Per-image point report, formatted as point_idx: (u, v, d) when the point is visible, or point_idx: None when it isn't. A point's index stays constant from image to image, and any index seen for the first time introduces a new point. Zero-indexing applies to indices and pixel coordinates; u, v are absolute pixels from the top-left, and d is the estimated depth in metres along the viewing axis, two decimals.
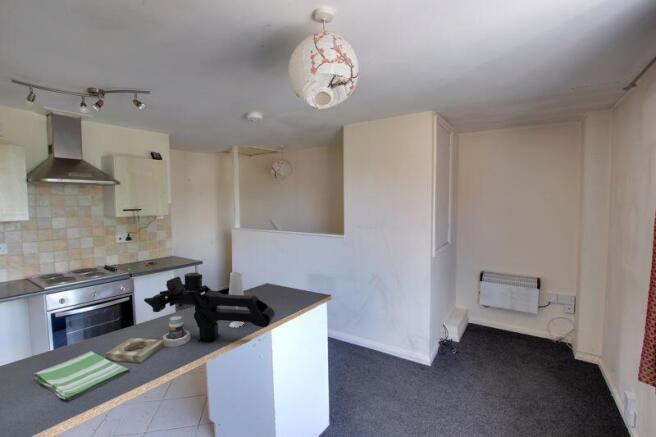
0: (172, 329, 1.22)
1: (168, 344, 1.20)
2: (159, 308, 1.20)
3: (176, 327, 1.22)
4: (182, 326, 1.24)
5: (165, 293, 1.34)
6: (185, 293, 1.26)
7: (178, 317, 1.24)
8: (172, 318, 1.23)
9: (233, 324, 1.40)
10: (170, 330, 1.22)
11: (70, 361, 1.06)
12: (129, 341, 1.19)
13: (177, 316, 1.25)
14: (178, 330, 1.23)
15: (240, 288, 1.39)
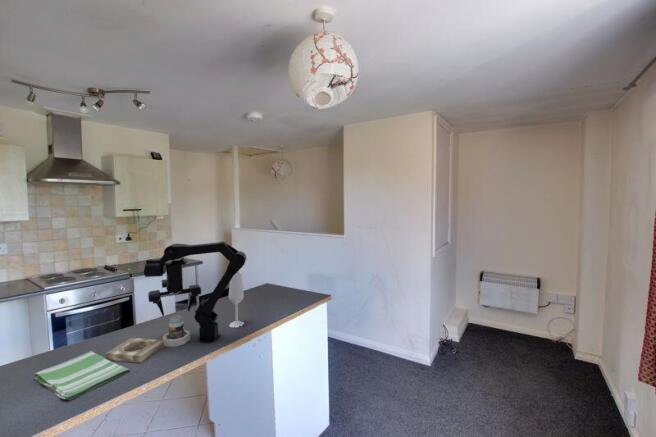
0: (172, 329, 1.22)
1: (168, 344, 1.20)
2: (149, 294, 1.18)
3: (176, 327, 1.22)
4: (182, 326, 1.24)
5: (188, 304, 1.26)
6: None
7: (178, 317, 1.24)
8: (172, 318, 1.23)
9: (233, 324, 1.40)
10: (170, 330, 1.22)
11: (70, 361, 1.06)
12: (129, 341, 1.19)
13: (177, 316, 1.25)
14: (178, 330, 1.23)
15: (240, 288, 1.39)
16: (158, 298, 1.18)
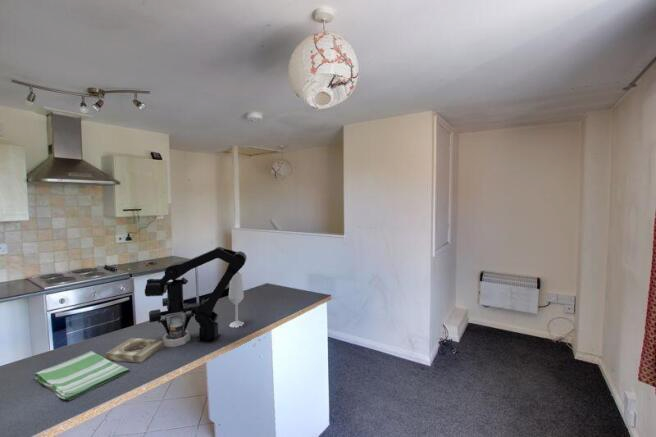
0: (172, 329, 1.22)
1: (168, 344, 1.20)
2: (150, 314, 1.18)
3: (176, 327, 1.22)
4: (182, 326, 1.24)
5: (184, 324, 1.26)
6: (167, 295, 1.22)
7: (178, 317, 1.24)
8: (172, 318, 1.23)
9: (233, 324, 1.40)
10: (170, 330, 1.22)
11: (70, 361, 1.06)
12: (129, 341, 1.19)
13: (177, 316, 1.25)
14: (178, 330, 1.23)
15: (240, 288, 1.39)
16: (159, 318, 1.19)
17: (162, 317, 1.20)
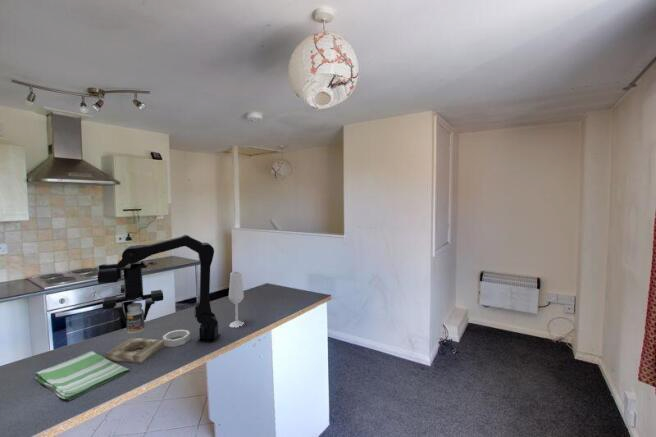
0: (129, 317, 1.12)
1: (168, 344, 1.20)
2: (104, 301, 1.08)
3: (133, 316, 1.12)
4: (141, 314, 1.14)
5: (144, 312, 1.16)
6: (125, 280, 1.11)
7: (136, 305, 1.14)
8: (130, 306, 1.13)
9: (233, 324, 1.40)
10: (127, 319, 1.12)
11: (71, 361, 1.06)
12: (129, 341, 1.19)
13: (136, 304, 1.15)
14: (136, 318, 1.12)
15: (240, 288, 1.39)
16: (113, 305, 1.08)
17: (118, 304, 1.10)
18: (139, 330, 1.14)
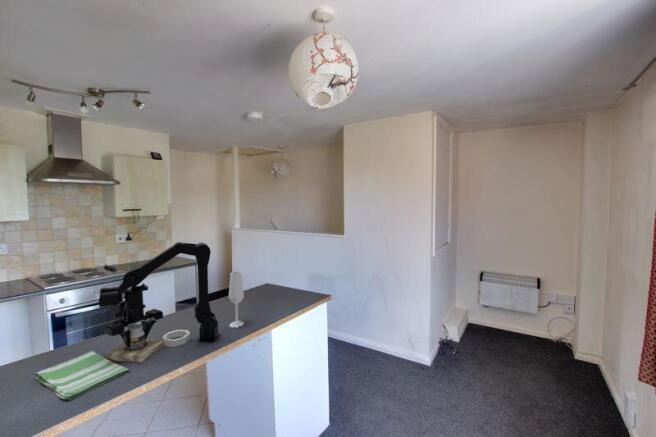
0: (134, 339, 1.13)
1: (168, 344, 1.20)
2: (111, 327, 1.06)
3: (139, 337, 1.14)
4: (144, 335, 1.16)
5: None
6: (126, 303, 1.12)
7: (138, 326, 1.15)
8: (132, 328, 1.14)
9: (233, 324, 1.40)
10: (131, 341, 1.13)
11: (71, 361, 1.06)
12: None
13: (135, 326, 1.16)
14: (141, 339, 1.14)
15: (240, 288, 1.39)
16: (122, 330, 1.08)
17: (124, 328, 1.09)
18: None
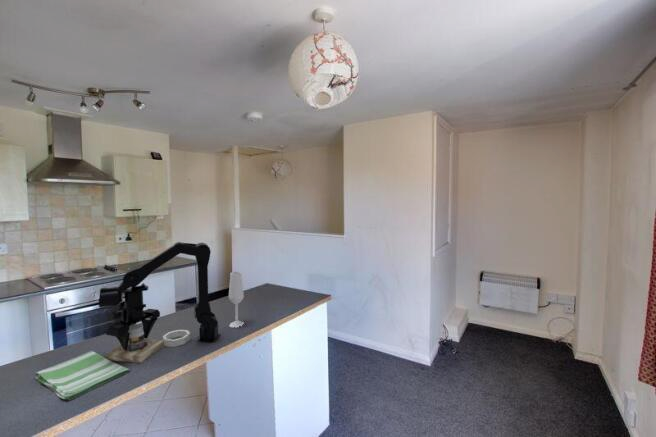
0: (134, 339, 1.13)
1: (168, 344, 1.20)
2: (116, 328, 1.06)
3: (139, 337, 1.14)
4: (143, 335, 1.16)
5: (145, 331, 1.20)
6: (125, 303, 1.12)
7: (137, 326, 1.15)
8: (132, 328, 1.14)
9: (233, 324, 1.40)
10: (132, 341, 1.13)
11: (71, 361, 1.06)
12: None
13: (135, 326, 1.16)
14: (141, 339, 1.15)
15: (240, 288, 1.39)
16: (127, 330, 1.08)
17: None
18: None
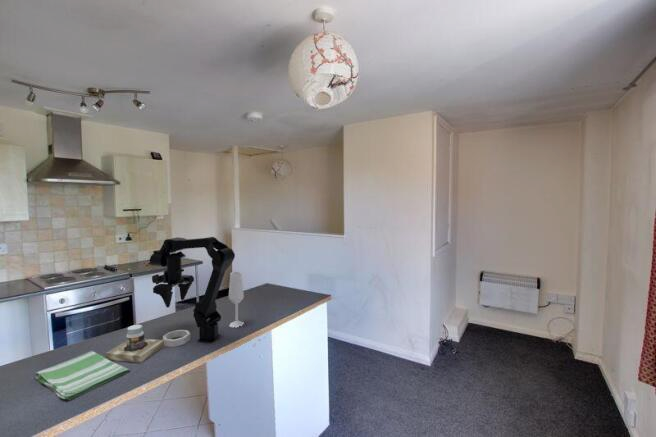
0: (134, 339, 1.13)
1: (168, 344, 1.20)
2: (162, 287, 1.22)
3: (139, 337, 1.14)
4: (143, 335, 1.16)
5: (182, 293, 1.36)
6: None
7: (137, 326, 1.15)
8: (132, 328, 1.14)
9: (233, 324, 1.40)
10: (132, 341, 1.13)
11: (71, 361, 1.06)
12: None
13: (135, 326, 1.16)
14: (141, 339, 1.15)
15: (240, 288, 1.39)
16: (171, 289, 1.24)
17: None
18: None
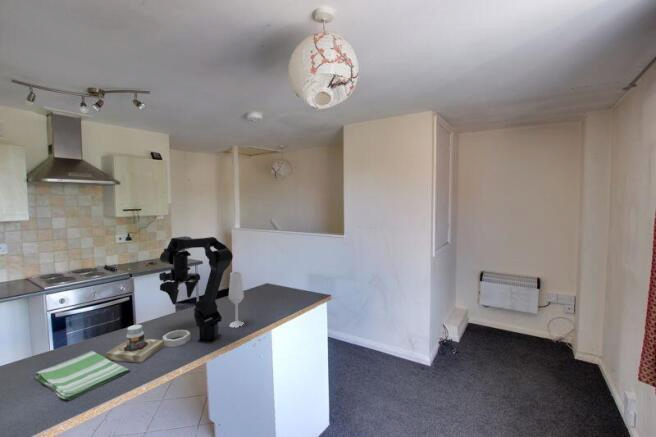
0: (134, 339, 1.13)
1: (168, 344, 1.20)
2: (169, 284, 1.25)
3: (139, 337, 1.14)
4: (143, 335, 1.16)
5: (188, 291, 1.39)
6: None
7: (137, 326, 1.15)
8: (132, 328, 1.14)
9: (233, 324, 1.40)
10: (132, 341, 1.13)
11: (71, 360, 1.07)
12: None
13: (135, 326, 1.16)
14: (141, 339, 1.15)
15: (240, 288, 1.39)
16: (177, 286, 1.27)
17: None
18: None
